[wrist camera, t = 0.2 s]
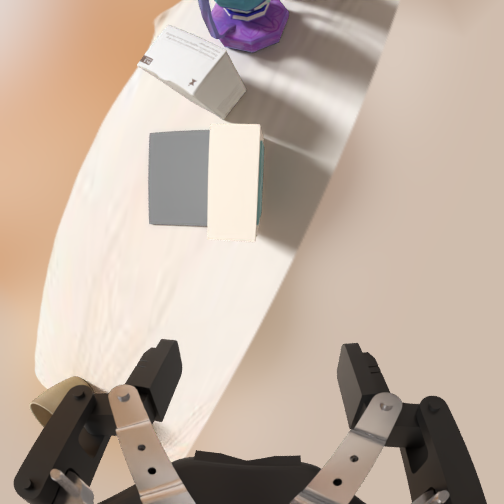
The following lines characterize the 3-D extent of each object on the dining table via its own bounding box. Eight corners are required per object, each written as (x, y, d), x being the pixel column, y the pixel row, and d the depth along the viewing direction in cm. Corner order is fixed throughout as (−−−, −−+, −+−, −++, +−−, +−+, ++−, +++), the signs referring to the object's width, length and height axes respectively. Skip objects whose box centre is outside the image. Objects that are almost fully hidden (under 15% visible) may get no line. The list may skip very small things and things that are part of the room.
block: (228, 137, 37) (210, 124, 25) (265, 138, 37) (262, 124, 25) (225, 219, 40) (207, 239, 29) (261, 221, 40) (257, 242, 29)
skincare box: (247, 90, 35) (234, 49, 20) (222, 122, 36) (195, 97, 22) (201, 64, 34) (169, 20, 19) (178, 95, 35) (133, 64, 21)
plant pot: (61, 354, 52) (26, 392, 37) (109, 387, 54) (80, 433, 38) (59, 385, 57) (32, 419, 41) (102, 414, 58) (78, 453, 43)
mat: (151, 133, 37) (149, 133, 37) (224, 130, 37) (224, 129, 36) (150, 223, 41) (149, 224, 41) (221, 225, 41) (221, 226, 40)
